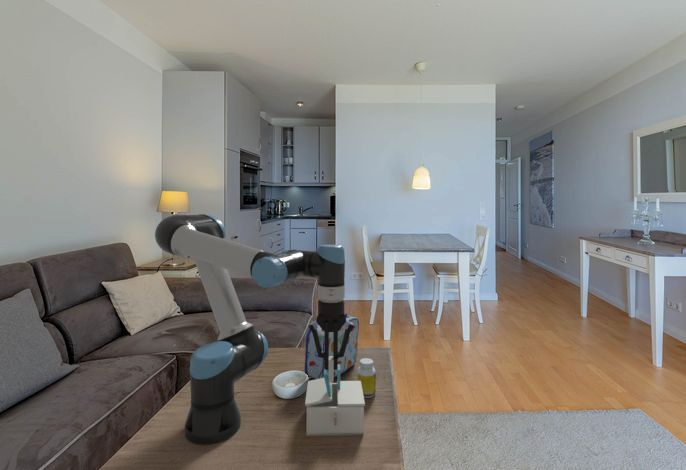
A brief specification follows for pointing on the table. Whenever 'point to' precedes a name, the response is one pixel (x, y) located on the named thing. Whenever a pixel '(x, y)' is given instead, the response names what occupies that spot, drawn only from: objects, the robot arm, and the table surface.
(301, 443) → the table surface
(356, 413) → the carton
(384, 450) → the table surface
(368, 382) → the pill bottle
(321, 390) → the flap
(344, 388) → the far flap
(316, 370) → the lunch box
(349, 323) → the robot arm
